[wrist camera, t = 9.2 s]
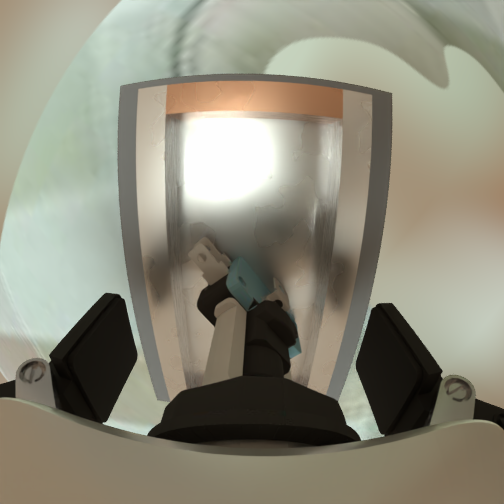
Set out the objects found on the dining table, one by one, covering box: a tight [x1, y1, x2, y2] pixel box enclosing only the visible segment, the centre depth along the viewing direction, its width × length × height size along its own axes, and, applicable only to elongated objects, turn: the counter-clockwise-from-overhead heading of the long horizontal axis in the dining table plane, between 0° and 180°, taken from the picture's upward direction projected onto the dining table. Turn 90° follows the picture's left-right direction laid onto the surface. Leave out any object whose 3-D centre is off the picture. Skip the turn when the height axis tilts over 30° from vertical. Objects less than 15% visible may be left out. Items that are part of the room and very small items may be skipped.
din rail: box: [136, 81, 372, 402], centre depth 12 cm, size 9×18×2 cm, turn 178°
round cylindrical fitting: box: [147, 237, 361, 449], centre depth 8 cm, size 7×5×10 cm
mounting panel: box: [118, 74, 392, 402], centre depth 14 cm, size 13×20×1 cm, turn 178°
